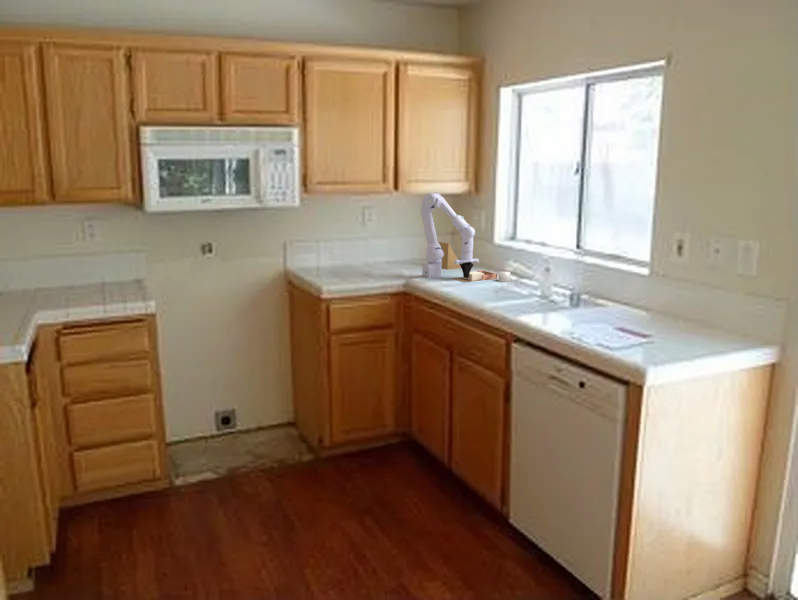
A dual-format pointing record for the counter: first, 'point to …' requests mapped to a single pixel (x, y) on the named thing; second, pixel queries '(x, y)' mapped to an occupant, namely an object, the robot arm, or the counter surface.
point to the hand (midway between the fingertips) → (465, 277)
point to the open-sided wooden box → (484, 277)
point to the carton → (474, 276)
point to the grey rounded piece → (504, 276)
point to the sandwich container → (448, 257)
